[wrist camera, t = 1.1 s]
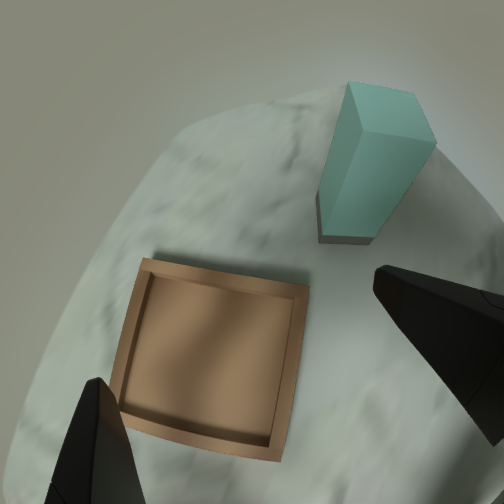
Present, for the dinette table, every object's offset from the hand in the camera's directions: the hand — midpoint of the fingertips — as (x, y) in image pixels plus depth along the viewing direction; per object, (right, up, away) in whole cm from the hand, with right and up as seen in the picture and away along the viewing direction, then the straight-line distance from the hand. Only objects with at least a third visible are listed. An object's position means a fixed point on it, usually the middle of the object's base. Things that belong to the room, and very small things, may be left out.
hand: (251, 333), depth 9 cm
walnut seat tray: (-3, -6, +13) cm, 15 cm away
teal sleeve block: (+8, +5, +18) cm, 20 cm away
